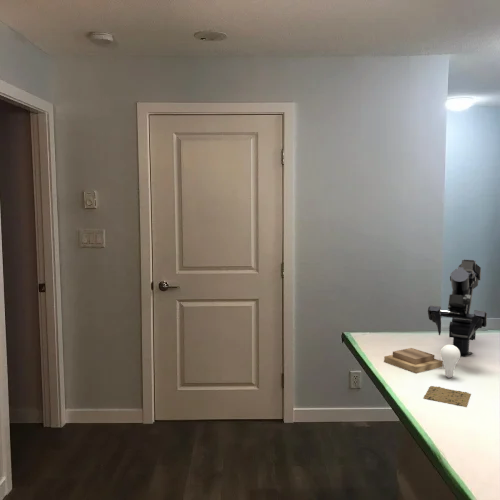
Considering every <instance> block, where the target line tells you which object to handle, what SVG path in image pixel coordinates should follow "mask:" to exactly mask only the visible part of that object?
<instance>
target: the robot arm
mask: <svg viewBox="0 0 500 500" xmlns="http://www.w3.org/2000/svg"><path fill="white" fill-rule="evenodd" d="M481 277H482V267H480V266H479V265H478V264H477V261H476V260H473V259H462V260H461V264H459V265H458V267H457V268H455V269H454V270H453V271H452V272H451V273H450V276H449V280H450V282H451V288H452V291H451V294H449V297H448V306H447V309H448V310H442V307H441V306H438V305H429V306H428V309H427V314H428V315H427V316H428V319H429V320H430V321H432V323H435V325H436V327H437V333H438V335H439V336H441V332H442V318H443V317H445V318H450V319H451V318H452V319H451V321H449V324H448V325H449V326H448V327H449V328H448V329H449V330H448V334H449V335H448V337H449V338H453V339H452V345H454V346H456V347H457V348H458V349H459V351H460V357H461V356H462V357H467V356H471V355H472V354H473V352H472V351H470V341H475V340H476V336H477V335H476V334H477V333H476V332H477V330H478V329H482V328H485V327H487V323H488V313H487V312H486V311H484V310H477V309H475V310H474V311H473V314H472V313H471V306H472V299H473V294H474V290H475V289H476V288H477V287H478V286H479V281H481V279H482V278H481Z"/></svg>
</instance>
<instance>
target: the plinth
mask: <svg viewBox="0 0 500 500" xmlns="http://www.w3.org/2000/svg"><path fill="white" fill-rule="evenodd" d="M383 357H384V358H383V363H386V364H388V365H389V364H390V365H391V366H395V367H397V368H399V369H403V370H405V371H408V372H412V373H414V374H419V373H424V372H425V371H426V372H427V371H431V370H434V369H439V368H442V367H443V365H444V362H443V360H441V359H436V358H435V354H432V353H429V352H426V351H423V350H420V349H417V348H414V347H409V348H404V349H399V350H394V351H392V354H391V355H390V354H389V355H385V356H383Z"/></svg>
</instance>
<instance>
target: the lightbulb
mask: <svg viewBox="0 0 500 500" xmlns="http://www.w3.org/2000/svg"><path fill="white" fill-rule="evenodd" d="M439 354H440V357H441V361H443V365H444V366H443V367H444V368H443V369H444V375H445V376H446V377H447V378H449V379H450V378H452V377H454V372H455V368H456V365H457V363H458V362H459V360H460V358H461V356H460V351H459V349H458V348H457V347H456V346H454V345H453V344H445V345H444V346H443V347H441V349H440V353H439Z"/></svg>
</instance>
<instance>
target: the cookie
mask: <svg viewBox="0 0 500 500" xmlns="http://www.w3.org/2000/svg"><path fill="white" fill-rule="evenodd" d="M471 395H472V393H469V392H468V391H467V392H466V391H461V390H454V389H449V388H445V387H441V386H434V385H431V386H429V387H428V389H427V391H426V392H425V394H424V396H423V398H422V399H424V400H428V401H432V402H438V403H442V404H443V403H444V404H447V405H453V406H459V407H463V408H468V406H469V405H468V404H469V401H470V400H471Z"/></svg>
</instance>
